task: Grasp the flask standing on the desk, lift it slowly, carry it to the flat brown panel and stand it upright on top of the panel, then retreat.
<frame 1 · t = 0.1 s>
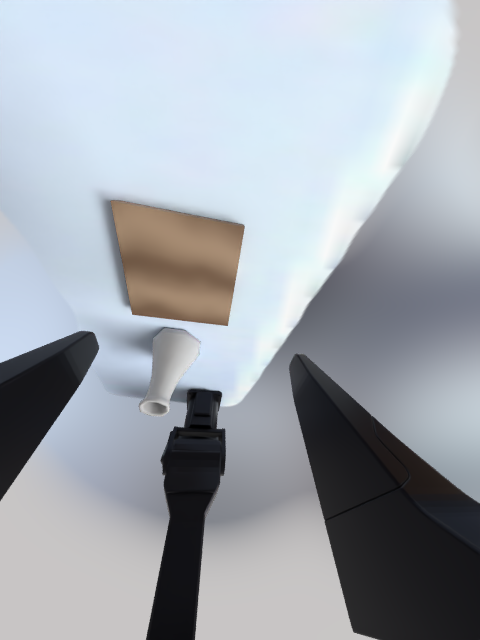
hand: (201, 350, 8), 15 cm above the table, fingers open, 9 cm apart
flat brown panel: (185, 270, 21), on the table
flask: (177, 344, 28), on the table
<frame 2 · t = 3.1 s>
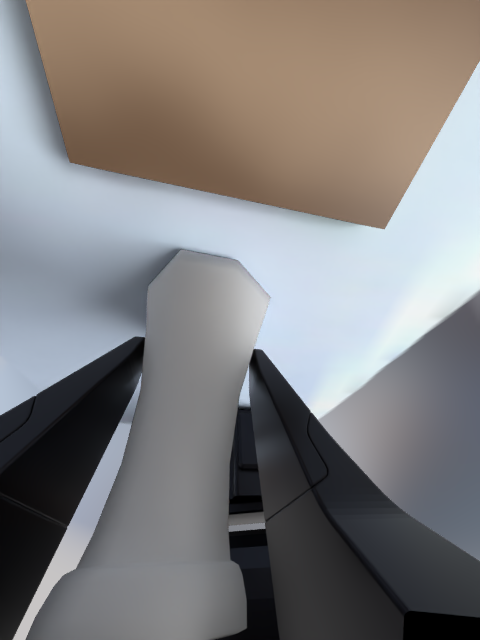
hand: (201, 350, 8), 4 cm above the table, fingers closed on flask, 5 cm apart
flask: (209, 308, 11), on the table, touching gripper
when the fingers open (7 cm above the table, at t = 9.7 s): flask drops 2 cm, resting on flat brown panel.
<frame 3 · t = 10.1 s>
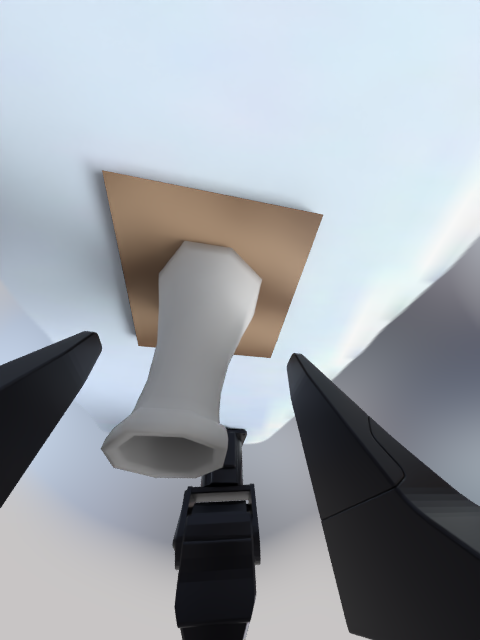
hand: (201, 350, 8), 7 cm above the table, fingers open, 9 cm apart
flat brown panel: (214, 282, 15), on the table, touching flask
flask: (210, 292, 13), point 1 cm above the table, touching flat brown panel
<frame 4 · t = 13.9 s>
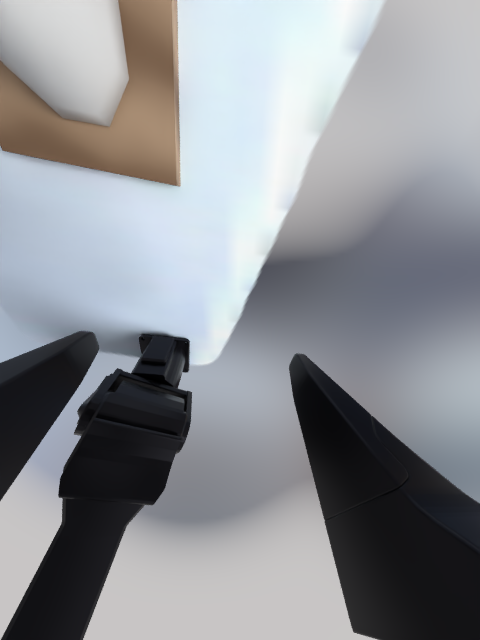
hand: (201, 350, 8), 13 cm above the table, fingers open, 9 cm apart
flat brown panel: (87, 56, 12), on the table, touching flask
flask: (66, 39, 10), point 1 cm above the table, touching flat brown panel
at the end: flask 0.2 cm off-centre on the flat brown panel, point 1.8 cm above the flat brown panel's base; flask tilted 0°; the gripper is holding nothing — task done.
